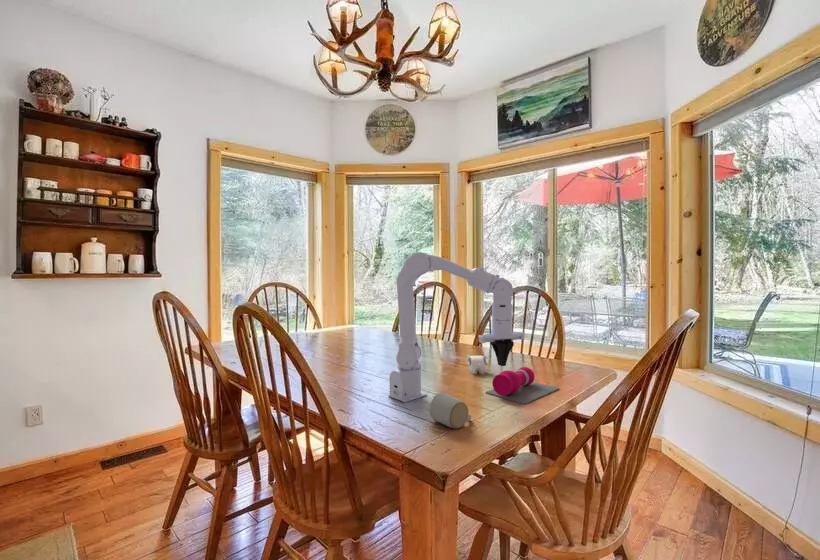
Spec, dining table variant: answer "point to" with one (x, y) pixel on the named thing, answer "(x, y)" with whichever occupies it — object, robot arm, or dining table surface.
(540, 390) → the mat
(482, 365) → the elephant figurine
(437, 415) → the ceramic mug
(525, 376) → the pepper mill
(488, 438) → the dining table surface
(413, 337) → the robot arm
